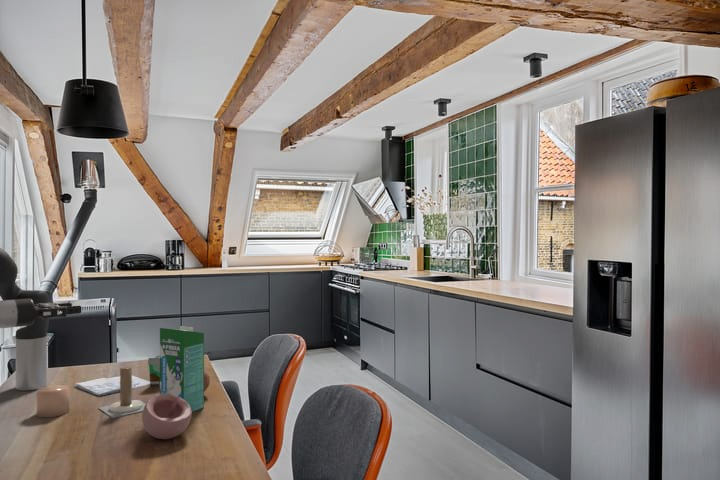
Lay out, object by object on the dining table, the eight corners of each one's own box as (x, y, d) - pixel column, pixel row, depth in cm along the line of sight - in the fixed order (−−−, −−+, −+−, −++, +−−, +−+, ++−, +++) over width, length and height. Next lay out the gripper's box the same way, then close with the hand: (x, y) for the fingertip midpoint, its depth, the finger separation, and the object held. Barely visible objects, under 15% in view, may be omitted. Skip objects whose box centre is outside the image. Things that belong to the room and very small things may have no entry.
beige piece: (104, 407, 163) (104, 367, 163) (135, 401, 169) (135, 363, 169) (115, 415, 156) (115, 373, 156) (147, 408, 163) (147, 368, 163)
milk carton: (204, 407, 165) (204, 325, 165) (182, 416, 156) (182, 329, 156) (181, 403, 168) (181, 323, 168) (159, 411, 160) (159, 327, 160)
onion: (173, 398, 173) (173, 367, 173) (191, 391, 182) (191, 361, 182) (197, 402, 170) (197, 370, 170) (215, 394, 179) (215, 363, 179)
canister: (33, 412, 159) (33, 388, 159) (64, 406, 165) (64, 383, 165) (40, 419, 153) (40, 394, 153) (72, 412, 159) (72, 389, 159)
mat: (98, 408, 163) (98, 407, 163) (138, 400, 171) (138, 399, 171) (112, 418, 154) (112, 417, 154) (154, 409, 163) (154, 408, 163)
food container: (163, 388, 185) (163, 359, 185) (147, 387, 186) (147, 358, 186) (182, 379, 197) (182, 351, 197) (167, 378, 199) (167, 350, 198)
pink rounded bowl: (162, 450, 131) (162, 403, 131) (132, 440, 138) (132, 395, 138) (201, 435, 142) (201, 391, 142) (170, 426, 148) (170, 384, 148)
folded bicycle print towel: (73, 388, 187) (73, 381, 187) (130, 376, 203) (130, 370, 203) (98, 398, 175) (98, 392, 175) (156, 385, 190) (156, 379, 190)
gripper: (19, 302, 143) (84, 297, 155) (6, 297, 153) (68, 293, 165) (19, 330, 143) (84, 323, 155) (6, 324, 154) (68, 317, 165)
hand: (76, 307), depth 160 cm, fingers open, 8 cm apart
